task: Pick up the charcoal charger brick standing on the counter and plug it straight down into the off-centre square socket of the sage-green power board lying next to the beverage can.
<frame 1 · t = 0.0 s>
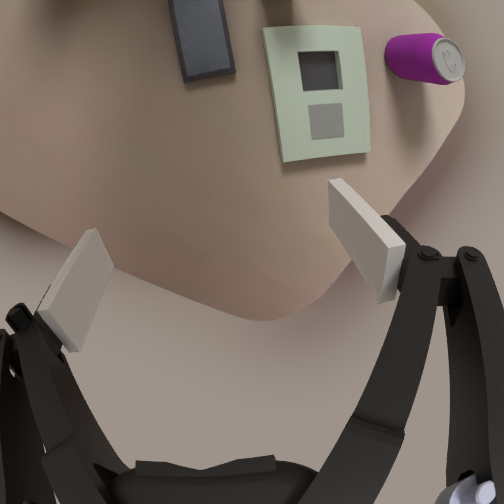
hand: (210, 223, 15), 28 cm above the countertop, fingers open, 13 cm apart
outlet plate: (319, 89, 36), on the countertop
phone: (201, 32, 30), on the countertop
beverage can: (401, 57, 33), on the countertop
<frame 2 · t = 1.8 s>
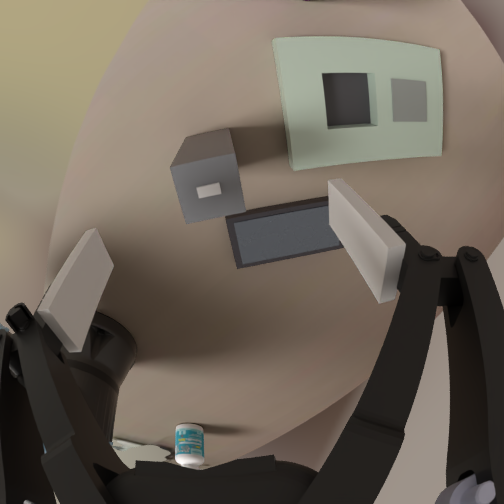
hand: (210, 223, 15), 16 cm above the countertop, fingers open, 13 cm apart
outlet plate: (368, 97, 27), on the countertop
phone: (287, 229, 35), on the countertop
pill bottle: (189, 426, 65), on the countertop
charger brick: (211, 152, 29), on the countertop
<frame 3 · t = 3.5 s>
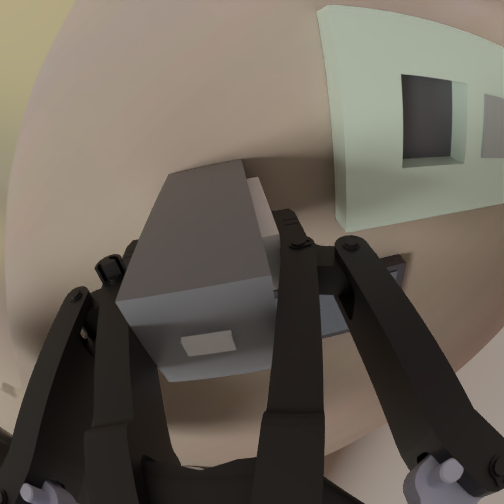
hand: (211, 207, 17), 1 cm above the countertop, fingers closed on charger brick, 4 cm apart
outlet plate: (449, 118, 16), on the countertop
phone: (322, 302, 24), on the countertop
charger brick: (212, 199, 18), on the countertop, touching gripper
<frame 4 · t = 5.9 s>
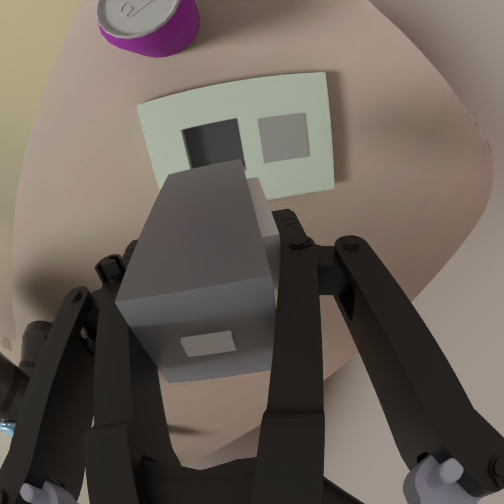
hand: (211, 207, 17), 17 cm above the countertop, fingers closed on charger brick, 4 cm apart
outlet plate: (240, 140, 31), on the countertop
charger brick: (211, 199, 18), point 16 cm above the countertop, touching gripper
beverage can: (165, 27, 22), on the countertop
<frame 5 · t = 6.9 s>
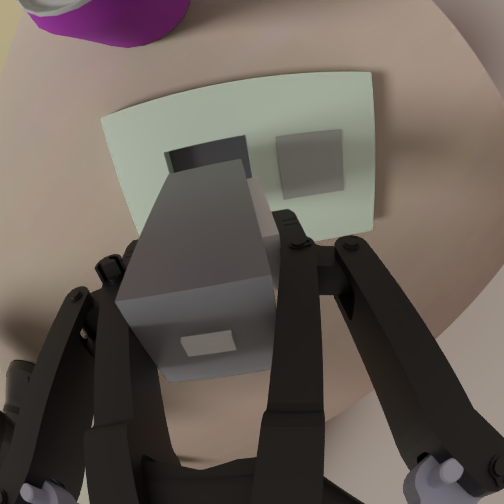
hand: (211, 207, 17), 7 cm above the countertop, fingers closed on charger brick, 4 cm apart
outlet plate: (250, 165, 22), on the countertop
charger brick: (211, 199, 18), point 5 cm above the countertop, touching gripper
beverage can: (142, 6, 14), on the countertop
when the fingers open (3 cm above the countertop, at t = 7.9 s): charger brick drops 1 cm, resting on outlet plate.
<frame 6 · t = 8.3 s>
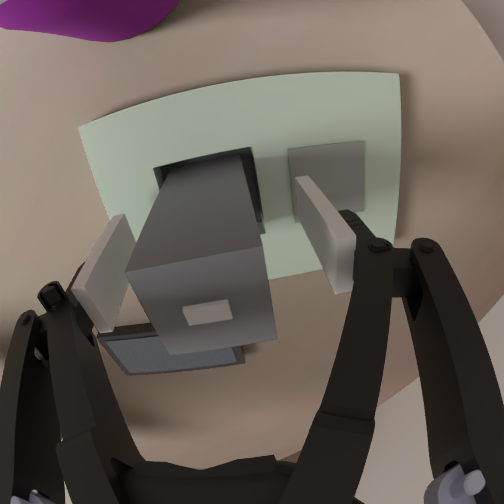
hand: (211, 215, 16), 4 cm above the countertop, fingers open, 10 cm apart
outlet plate: (255, 181, 19), on the countertop
phone: (171, 344, 28), on the countertop
charger brick: (211, 191, 19), resting on outlet plate
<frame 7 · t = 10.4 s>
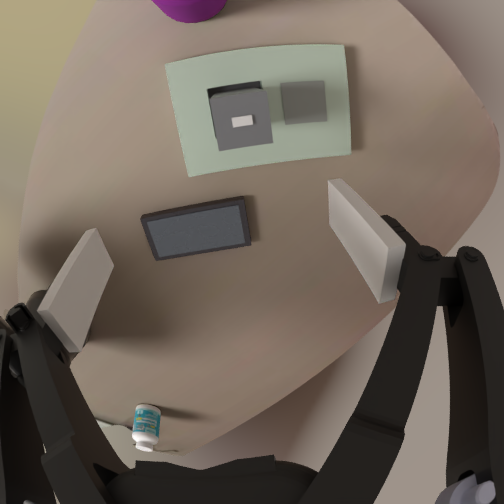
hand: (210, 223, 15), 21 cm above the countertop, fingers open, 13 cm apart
outlet plate: (262, 104, 30), on the countertop
phone: (196, 227, 39), on the countertop
pill bottle: (148, 407, 70), on the countertop
charger brick: (237, 107, 30), resting on outlet plate
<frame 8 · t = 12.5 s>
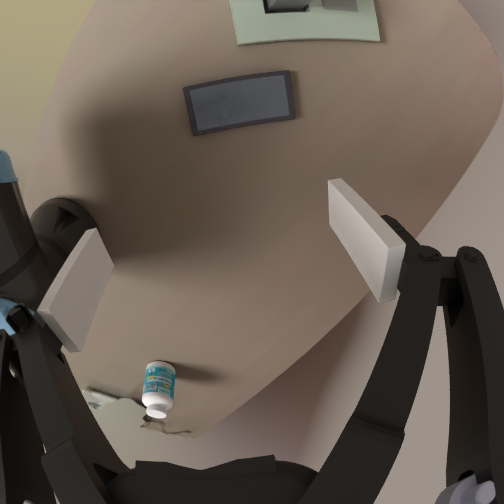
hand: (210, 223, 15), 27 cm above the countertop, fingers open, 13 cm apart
phone: (239, 100, 35), on the countertop
pill bottle: (161, 367, 66), on the countertop
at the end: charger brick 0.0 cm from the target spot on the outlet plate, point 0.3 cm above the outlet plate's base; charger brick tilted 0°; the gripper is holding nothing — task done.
